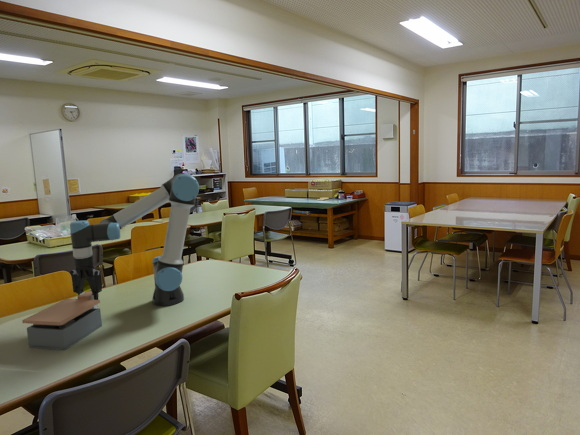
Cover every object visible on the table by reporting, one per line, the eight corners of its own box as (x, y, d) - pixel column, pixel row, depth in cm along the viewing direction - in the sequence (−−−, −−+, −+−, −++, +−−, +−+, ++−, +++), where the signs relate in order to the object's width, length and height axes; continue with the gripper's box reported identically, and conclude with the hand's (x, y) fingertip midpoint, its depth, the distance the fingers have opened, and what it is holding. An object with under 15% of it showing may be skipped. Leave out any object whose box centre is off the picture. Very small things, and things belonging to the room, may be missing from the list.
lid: (110, 299, 184) (109, 291, 183) (60, 328, 154) (59, 319, 154) (77, 298, 187) (76, 290, 186) (23, 326, 158) (21, 317, 157)
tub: (102, 326, 178) (100, 308, 177) (65, 350, 157) (62, 330, 156) (69, 324, 182) (67, 306, 180) (29, 347, 160) (26, 328, 159)
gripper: (107, 254, 180) (113, 305, 184) (71, 254, 184) (77, 303, 188) (96, 259, 173) (102, 311, 177) (58, 258, 177) (65, 310, 181)
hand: (89, 307), depth 182 cm, fingers closed on lid, 5 cm apart
